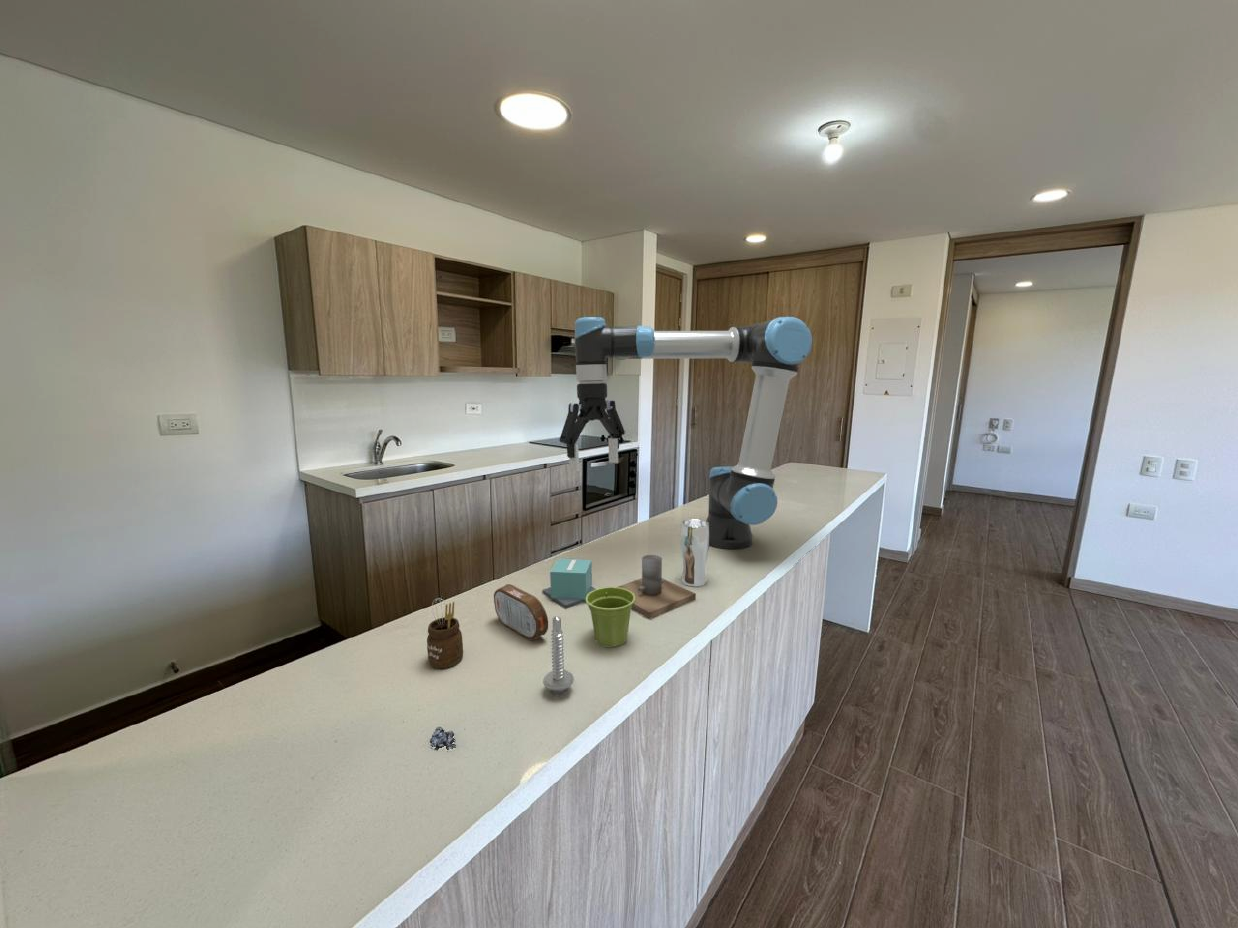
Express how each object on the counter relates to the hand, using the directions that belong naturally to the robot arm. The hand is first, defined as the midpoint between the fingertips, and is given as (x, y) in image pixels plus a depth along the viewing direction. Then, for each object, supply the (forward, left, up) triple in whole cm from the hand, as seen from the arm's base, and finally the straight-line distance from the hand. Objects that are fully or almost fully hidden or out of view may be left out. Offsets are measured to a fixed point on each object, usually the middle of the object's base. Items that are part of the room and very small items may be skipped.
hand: (594, 466), depth 124 cm
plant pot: (+19, +31, -27) cm, 46 cm away
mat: (+14, +10, -27) cm, 32 cm away
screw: (+35, +38, -27) cm, 59 cm away
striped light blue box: (+14, +10, -26) cm, 31 cm away
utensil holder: (+46, +18, -27) cm, 57 cm away
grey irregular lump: (+53, +38, -28) cm, 71 cm away
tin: (+31, +17, -27) cm, 45 cm away
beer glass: (-13, +23, -27) cm, 38 cm away
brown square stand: (+1, +23, -27) cm, 36 cm away
